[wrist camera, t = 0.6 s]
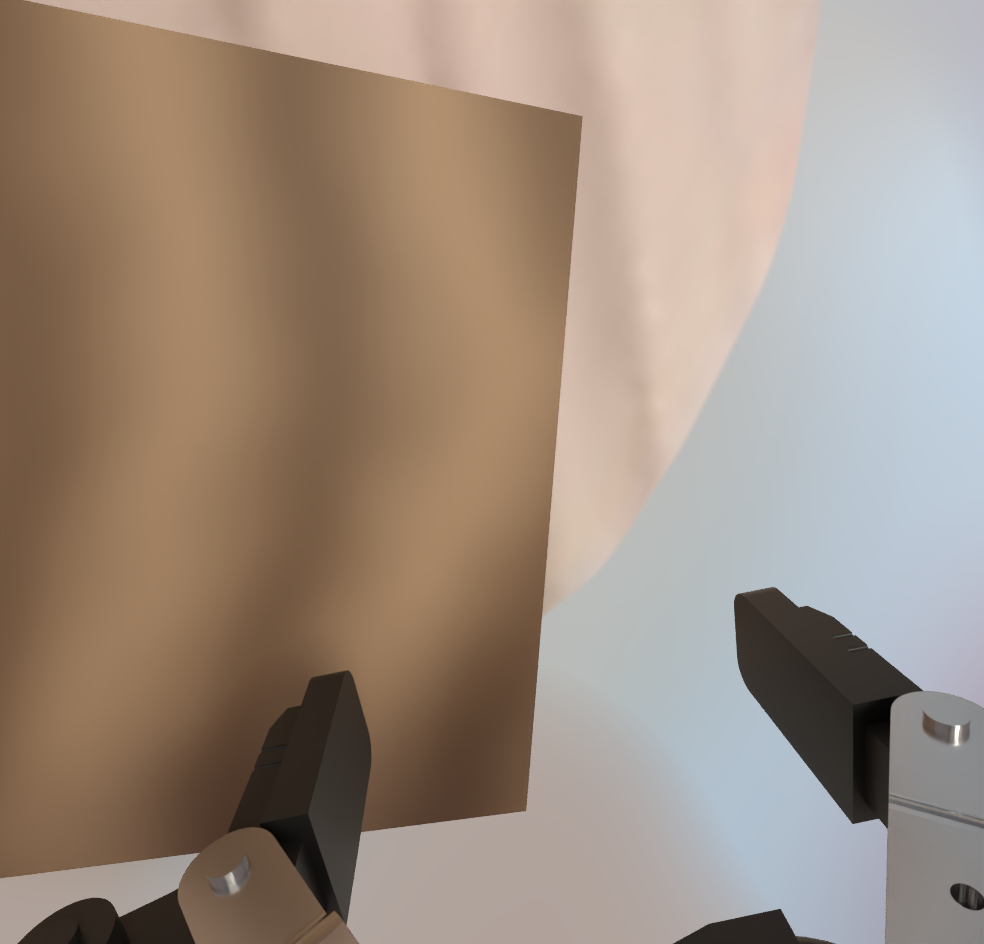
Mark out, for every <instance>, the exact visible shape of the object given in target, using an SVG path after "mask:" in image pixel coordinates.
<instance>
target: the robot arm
mask: <svg viewBox="0 0 984 944" xmlns="http://www.w3.org/2000/svg"><path fill="white" fill-rule="evenodd" d="M734 612H735V629H736V643H737V658H738V665H739V669H740V672H741V675H742V678H743V680H744V682H745V684H746V686H747V688H748V690H749V691H750V692H751V694H752V695H753V696H754V698H755V699H756V700H757V701H758V703H759V704H760V705H761V707H762V708H763V709H764V710H765V712H766V713H767V714H768V715H769V717H770V718H771V719H772V721H773V722H774V723H775V725H776V726H777V727H778V728H779V730H780V731H781V732H782V734H783V735H784V736H785V737H786V739H787V740H788V741H789V742H790V744H791V745H792V746H793V748H794V749H795V750H796V752H797V753H798V754H799V755H800V757H801V758H802V759H803V761H804V762H805V763H806V764H807V766H808V767H809V768H810V770H811V771H812V772H813V773H814V775H815V776H816V777H817V779H818V780H819V781H820V782H821V784H822V785H823V786H824V788H825V789H826V790H827V791H828V793H829V794H830V795H831V797H832V798H833V799H834V800H835V802H836V803H837V804H838V806H839V807H840V808H841V809H842V811H843V812H844V813H845V814H846V816H847V817H848V818H849V820H850V821H851V822H852V824H855V823H860V822H865V821H869V820H874V819H880V820H881V822H882V823H883V824H884V825H885V826H886V828H887V829H888V840H887V841H888V842H887V883H886V884H887V885H886V928H885V944H984V708H982V707H981V706H979V705H977V704H975V703H973V702H971V701H969V700H966V699H963V698H961V697H957V696H954V695H950V694H946V693H940V692H931V691H923V690H922V689H920V688H919V687H918V686H917V685H916V684H914V683H913V682H912V681H911V680H909V679H908V678H907V677H906V676H904V675H903V674H902V673H901V672H900V671H898V670H897V669H896V668H895V667H894V666H892V665H891V664H890V663H889V662H887V661H886V660H885V659H884V658H882V657H881V656H880V655H879V654H878V653H876V652H875V651H874V650H873V649H869V648H868V646H867V644H866V643H864V642H863V641H862V640H861V639H859V638H858V637H857V636H856V635H855V636H853V635H852V632H851V631H849V630H848V629H847V628H846V627H845V626H844V625H842V624H841V623H840V622H839V621H837V620H836V619H835V618H834V617H832V616H829V615H827V614H825V613H823V612H820V611H818V610H816V609H813V608H811V607H809V606H804V607H798V606H796V605H795V604H794V603H793V602H792V601H791V600H789V599H788V598H787V597H786V596H785V595H784V594H783V593H781V592H780V591H779V590H778V589H777V588H774V587H771V588H766V589H761V590H756V591H751V592H746V593H741V594H737V595H736V597H735V600H734ZM261 750H262V753H260V754H259V756H258V759H257V761H256V763H255V766H254V771H252V773H251V776H250V778H249V781H248V783H247V786H246V788H245V791H244V793H243V796H242V798H241V801H240V803H239V806H238V808H237V811H236V813H235V815H234V818H233V820H232V823H231V825H230V828H229V830H228V833H227V834H226V835H224V836H222V837H221V838H219V839H217V840H216V841H214V842H213V843H211V844H210V845H209V846H207V847H206V848H205V849H204V850H203V851H202V852H201V853H200V854H199V855H198V856H197V857H196V858H195V859H194V860H193V861H192V862H191V864H190V865H189V867H188V868H187V869H186V871H185V873H184V875H183V877H182V879H181V881H180V884H179V888H178V889H177V890H175V891H173V892H171V893H169V894H168V895H165V896H163V897H161V898H159V899H157V900H155V901H153V902H151V903H149V904H146V905H144V906H142V907H140V908H138V909H136V910H134V911H132V912H130V913H128V914H126V915H123V916H121V917H119V916H118V914H117V912H116V910H115V908H114V906H113V905H112V904H111V902H109V901H108V900H106V899H102V898H89V899H84V900H81V901H78V902H75V903H72V904H70V905H68V906H66V907H64V908H62V909H60V910H58V911H57V912H55V913H53V914H52V915H50V916H49V917H47V918H46V919H45V920H43V921H42V922H41V923H39V924H38V925H37V926H36V927H34V928H33V929H32V930H31V931H30V932H29V933H28V934H27V935H26V936H25V937H24V938H23V939H22V940H21V941H20V942H19V943H18V944H359V943H358V942H357V940H356V939H355V937H354V936H353V934H352V933H351V931H350V930H349V929H348V928H347V926H346V925H347V918H348V911H349V905H350V899H351V892H352V886H353V879H354V872H355V867H356V860H357V854H358V847H359V841H360V834H361V828H362V821H363V815H364V809H365V802H366V796H367V789H368V783H369V776H370V770H371V760H372V754H371V742H370V736H369V731H368V727H367V724H366V720H365V717H364V713H363V710H362V706H361V703H360V699H359V696H358V692H357V689H356V685H355V682H354V678H353V676H352V674H351V672H350V671H349V670H346V671H341V672H336V673H331V674H326V675H321V676H316V677H312V678H311V679H310V681H309V684H308V687H307V689H306V692H305V695H304V698H303V701H302V704H301V705H300V706H295V707H290V708H287V709H286V710H285V711H284V713H283V714H282V715H281V716H280V717H279V718H278V719H277V721H276V722H275V723H274V724H273V725H272V726H271V727H270V729H269V731H268V734H267V736H266V739H265V741H264V744H263V746H262V749H261ZM674 944H834V943H831V942H828V941H824V940H819V939H813V938H808V937H799V936H795V934H794V933H793V931H792V929H791V927H790V925H789V923H788V922H787V920H786V918H785V916H784V914H783V913H782V911H781V909H778V910H773V911H768V912H763V913H759V914H754V915H749V916H744V917H740V918H735V919H730V920H726V921H721V922H716V923H711V924H708V925H706V926H705V927H703V928H701V929H699V930H697V931H695V932H694V933H692V934H690V935H688V936H686V937H684V938H683V939H681V940H679V941H677V942H676V943H674Z"/></svg>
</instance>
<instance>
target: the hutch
mask: <svg viewBox="0 0 984 944" xmlns="http://www.w3.org/2000/svg"><path fill="white" fill-rule="evenodd" d="M581 128H582V116H578V115H573V114H568V113H564V112H559V111H554V110H549V109H544V108H540V107H535V106H530V105H525V104H520V103H515V102H511V101H506V100H501V99H496V98H491V97H487V96H482V95H477V94H472V93H467V92H462V91H458V90H453V89H448V88H443V87H438V86H434V85H429V84H424V83H419V82H414V81H410V80H405V79H400V78H395V77H390V76H385V75H381V74H376V73H371V72H366V71H361V70H357V69H352V68H347V67H342V66H337V65H332V64H328V63H323V62H318V61H313V60H308V59H304V58H299V57H294V56H289V55H284V54H280V53H275V52H270V51H265V50H260V49H255V48H251V47H246V46H241V45H236V44H231V43H227V42H222V41H217V40H212V39H207V38H202V37H198V36H193V35H188V34H183V33H178V32H174V31H169V30H164V29H159V28H154V27H150V26H145V25H140V24H135V23H130V22H125V21H121V20H116V19H111V18H106V17H101V16H97V15H92V14H87V13H82V12H77V11H72V10H68V9H63V8H58V7H53V6H48V5H44V4H39V3H34V2H29V1H24V0H0V878H5V877H13V876H21V875H29V874H36V873H44V872H52V871H60V870H68V869H76V868H84V867H91V866H99V865H106V864H115V863H122V862H130V861H138V860H146V859H153V858H162V857H169V856H177V855H185V854H193V853H201V852H202V851H203V850H204V849H205V848H206V847H207V846H209V845H210V844H211V843H213V842H214V841H216V840H217V839H219V838H221V837H222V836H224V835H226V834H227V833H228V830H229V828H230V825H231V823H232V820H233V818H234V815H235V813H236V811H237V808H238V806H239V803H240V801H241V798H242V796H243V793H244V791H245V788H246V786H247V783H248V781H249V778H250V776H251V773H252V771H254V766H255V763H256V761H257V759H258V756H259V754H260V753H262V750H261V749H262V746H263V744H264V741H265V739H266V736H267V734H268V731H269V729H270V727H271V726H272V725H273V724H274V723H275V722H276V721H277V719H278V718H279V717H280V716H281V715H282V714H283V713H284V711H285V710H286V709H287V708H290V707H295V706H300V705H301V704H302V701H303V698H304V695H305V692H306V689H307V687H308V684H309V681H310V679H311V678H312V677H316V676H321V675H326V674H331V673H336V672H341V671H346V670H349V671H350V672H351V674H352V676H353V678H354V682H355V685H356V689H357V692H358V696H359V699H360V703H361V706H362V710H363V713H364V717H365V720H366V724H367V727H368V731H369V736H370V742H371V754H372V760H371V770H370V776H369V783H368V789H367V796H366V802H365V809H364V815H363V821H362V828H361V832H365V831H372V830H381V829H388V828H396V827H404V826H411V825H420V824H427V823H435V822H442V821H451V820H459V819H467V818H474V817H481V816H489V815H498V814H506V813H513V812H521V811H526V805H527V793H528V781H529V768H530V755H531V743H532V732H533V731H532V730H533V719H534V707H535V695H536V682H537V670H538V657H539V645H540V633H541V621H542V608H543V596H544V584H545V571H546V559H547V547H548V534H549V522H550V510H551V497H552V485H553V473H554V461H555V448H556V436H557V424H558V411H559V399H560V387H561V374H562V362H563V350H564V337H565V325H566V313H567V300H568V288H569V276H570V263H571V251H572V239H573V226H574V214H575V202H576V189H577V177H578V165H579V153H580V140H581Z"/></svg>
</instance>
